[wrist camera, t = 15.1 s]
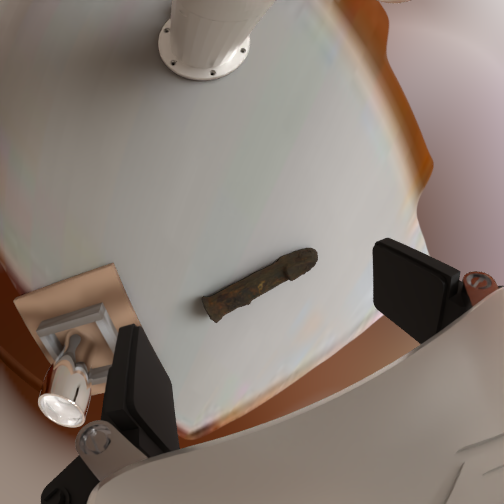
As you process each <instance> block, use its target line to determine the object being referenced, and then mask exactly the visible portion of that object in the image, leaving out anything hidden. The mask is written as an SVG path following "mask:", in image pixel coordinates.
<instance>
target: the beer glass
mask: <svg viewBox="0 0 504 504" xmlns="http://www.w3.org/2000/svg"><path fill="white" fill-rule="evenodd" d="M97 353H98V344H97V342H96V340H95V339H94V337H93V336H92V335H90V334H89V333H87V332H86V331H83V330H79V329H75V330H71V331H69V332H68V333H67V334H66V336H65V339H64V346H63V349H62V351H61V353H60V354H59V355H58V357H57V358H56V359H55V361H54V362H53V363H52V365H51V366H50V368H49V370H48V372H47V374H46V376H45V378H44V381H43V384H42V388H41V392H40V396H39V399H38V404H39V407H40V409H41V411H42V412H43V413H44V414H45V415H46V416H47V417H48V418H49V419H51V420H52V421H54V422H56V423H58V424H60V425H63V426H66V427H78V426H81V425H82V424H83V423H84V421H85V416H86V413H87V410H88V406H89V402H90V397H91V389H92V363H93V360H94V358H95V357H96V355H97Z"/></svg>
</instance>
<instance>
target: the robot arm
mask: <svg viewBox="0 0 504 504" xmlns="http://www.w3.org/2000/svg"><path fill="white" fill-rule="evenodd" d="M275 1H276V0H172V6H171V18H170V19H169V20H168V21H167V22H166V23H165V25H164V26H163V28H162V30H161V32H160V34H159V40H158V48H159V53H160V56H161V58H162V60H163V62H164V63H165V64H166V66H167V67H168V68H169V69H170V70H172V71H173V72H174V73H176V74H178V75H180V76H182V77H185V78H188V79H192V80H203V81H207V80H214V79H218V78H221V77H224V76H226V75H228V74H230V73H232V72H233V71H234V70H235V69H237V68H238V67H239V66H240V65H241V64H242V62H243V61H244V60H245V58H246V56H247V54H248V52H249V48H250V36H249V34H250V33H251V31H252V30H253V29H254V27H255V26H256V25H257V23H258V22H259V21H260V20H261V18H262V17H263V16H264V15H265V13H266V12H267V11H268V10H269V8H270V7H271V6H272V4H273V3H274V2H275ZM377 1H381V2H386V3H404V2H408V1H411V0H377ZM165 32H168V33H165ZM241 51H242V52H243V53H241ZM173 63H175V65H171V64H173ZM211 73H213V74H214V75H213V76H212V75H210V74H211ZM459 277H460V271H459V270H457V269H455V268H453V267H451V266H449V265H447V264H445V263H442V262H441V261H439V260H436V259H434V258H432V257H430V256H428V255H426V254H424V253H422V252H419V251H417V250H415V249H413V248H411V247H408V246H406V245H404V244H402V243H400V242H397V241H395V240H393V239H390V238H385V239H383V240H380V241H377V242H376V243H375V246H374V247H373V302H374V305H375V307H376V309H377V310H379V311H380V312H381V313H382V314H384V315H385V316H386V317H388V318H389V319H390V320H391V321H393V322H394V323H395V324H396V325H398V326H399V327H400V328H401V329H403V330H404V331H405V332H406V333H408V334H409V335H410V336H411V337H413V338H414V339H415V340H416V341H418V342H419V343H420V344H421V345H420V346H418V347H416V348H415V349H413V350H412V351H410V352H409V353H407V354H405V355H404V356H402V357H401V358H399V359H397V360H396V361H394V362H393V363H391V364H389V365H387V366H386V367H384V368H382V369H381V370H379V371H377V372H375V373H374V374H372V375H370V376H368V377H366V378H364V379H363V380H361V381H359V382H357V383H355V384H353V385H351V386H349V387H347V388H345V389H343V390H341V391H339V392H337V393H335V394H333V395H331V396H329V397H327V398H325V399H323V400H320V401H319V402H316V403H314V404H311V405H309V406H307V407H305V408H302V409H300V410H298V411H295V412H293V413H290V414H288V415H286V416H283V417H280V418H278V419H275V420H272V421H270V422H267V423H264V424H261V425H259V426H256V427H253V428H250V429H247V430H244V431H241V432H238V433H235V434H232V435H229V436H225V437H222V438H219V439H216V440H212V441H208V442H205V443H201V444H197V445H194V446H189V447H186V448H182V449H180V448H179V441H178V434H177V426H176V418H175V410H174V401H173V391H172V384H171V381H170V378H169V377H168V375H167V373H166V371H165V370H164V368H163V366H162V364H161V362H160V361H159V359H158V357H157V355H156V353H155V351H154V349H153V348H152V346H151V344H150V342H149V340H148V338H147V336H146V334H145V332H144V330H143V328H142V327H141V326H136V325H135V324H134V323H133V324H130V325H126V326H123V327H120V328H119V331H118V336H117V341H116V346H115V351H114V356H113V362H112V366H111V367H110V368H109V370H108V375H107V381H106V387H105V393H104V400H103V408H102V416H101V420H100V421H93V422H91V423H89V424H87V425H86V426H84V427H83V428H82V429H81V430H80V431H79V433H78V435H77V437H76V441H75V447H76V450H77V452H78V454H79V456H78V457H77V458H76V459H75V460H74V461H72V463H70V464H69V465H68V466H67V467H66V468H65V469H64V470H63V471H62V472H61V473H60V474H59V475H58V476H57V477H56V478H54V479H53V481H52V482H50V483H49V484H48V485H47V486H46V487H45V489H44V490H43V492H42V495H41V504H504V286H497V284H496V282H495V280H494V279H493V278H492V277H491V276H490V275H488V274H486V273H483V272H477V271H474V272H469V273H466V274H465V275H464V277H463V280H462V282H461V281H459Z"/></svg>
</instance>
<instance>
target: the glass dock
mask: <svg viewBox="0 0 504 504" xmlns="http://www.w3.org/2000/svg"><path fill="white" fill-rule="evenodd" d="M14 303H15V305H16V307H17V309H18V311H19V313H20V315H21V317H22V319H23V320H24V322H25V324H26V326H27V327H28V329H29V331H30V333H31V334H32V336H33V338H34V339H35V341H36V343H37V344H38V345H39V347H40V349H41V350H42V352H43V354H44V355H45V357H46V358H47V360H48V361H49V362H50V364H51V365H52V363H53V362H54V361H55V359H56V358H57V357H58V355H59V354H60V353H61V351H62V349H63V346H64V339H65V336H66V334H67V333H68V332H69V331H71V330H75V329H79V330H83V331H86V332H87V333H89V334H90V335H92V336H93V337H94V339H95V340H96V342H97V344H98V353H97V355H96V357H95V358H94V360H93V363H92V389H91V395H95V394H100V393H105V387H106V381H107V375H108V370H109V368H110V367H111V366H112V362H113V356H114V351H115V346H116V341H117V336H118V331H119V328H120V327H123V326H126V325H130V324H133V323H134V324H135V325H136V326H141V324H140V322H139V320H138V318H137V315H136V313H135V311H134V309H133V307H132V305H131V303H130V300H129V298H128V296H127V294H126V291H125V289H124V287H123V284H122V282H121V280H120V277H119V275H118V272H117V270H116V268H115V265H114V263H111V264H108V265H105V266H102V267H99V268H96V269H94V270H91V271H88V272H85V273H82V274H79V275H76V276H74V277H71V278H68V279H65V280H62V281H60V282H57V283H54V284H51V285H48V286H46V287H43V288H40V289H38V290H35V291H32V292H30V293H27V294H24V295H22V296H20V297H17V298H15V299H14ZM141 327H142V326H141ZM151 346H152V345H151ZM152 348H153V347H152ZM159 361H160V360H159ZM164 370H165V369H164Z"/></svg>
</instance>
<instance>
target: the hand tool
mask: <svg viewBox="0 0 504 504" xmlns="http://www.w3.org/2000/svg"><path fill="white" fill-rule="evenodd" d="M317 260H318V255H317V251H316V250H315V249H313V248H305V249H301V250H298V251H294V252H293V253H290V254H287V255H284V256H282V257H280V258H279V259H278V261H277V262H275V263H274V264H272V265H270V266H268V267H266V268H264V269H262V270H260V271H257V272H255V273H253V274H252V275H250V276H249V277H247V278H245V279H243V280H241V281H238V282H236V283H234V284H232V285H230V286H228V287H227V288H225V289H224V290H222V291H220V292H218V293H216V294H215V295H212V296H210V297H204V296H203V297H202V301H203V305H204V307H205V310H206V311H207V313H208V315H209V317H210V319H211V320H213V321H214V322H215V323H217V322H218V321H219V320H221V319H222V317H223V316H224V315H226V314H227V313H230V312H231V311H233V310H235V309H236V308H238V307H242V306H245V305H249V304H250V303H251V301H252V300H253V299H255V298H257V297H259V296H260V295H262V294H264V293H266V292H267V291H269V290H271V289H273V288H274V287H276V286H278V285H279V284H281V283H283V282H285V281H287V280H290V281H293V280H295V279H296V278H298V277H299V276H301V275H303V274H305V273H306V272H308V271H309V270H311V268H312V267H314V266H315V264H316V262H317Z"/></svg>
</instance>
